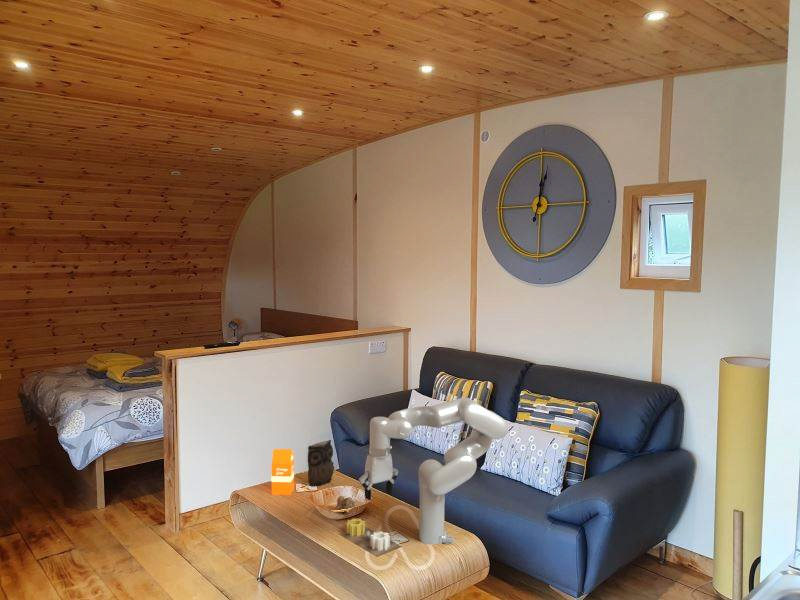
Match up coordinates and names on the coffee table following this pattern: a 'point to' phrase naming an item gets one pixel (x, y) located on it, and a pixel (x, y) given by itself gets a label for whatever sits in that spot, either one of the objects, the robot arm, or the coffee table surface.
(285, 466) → the orange juice
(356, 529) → the gear
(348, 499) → the lion figurine
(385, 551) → the gear board
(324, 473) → the owl
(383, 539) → the loose gear
